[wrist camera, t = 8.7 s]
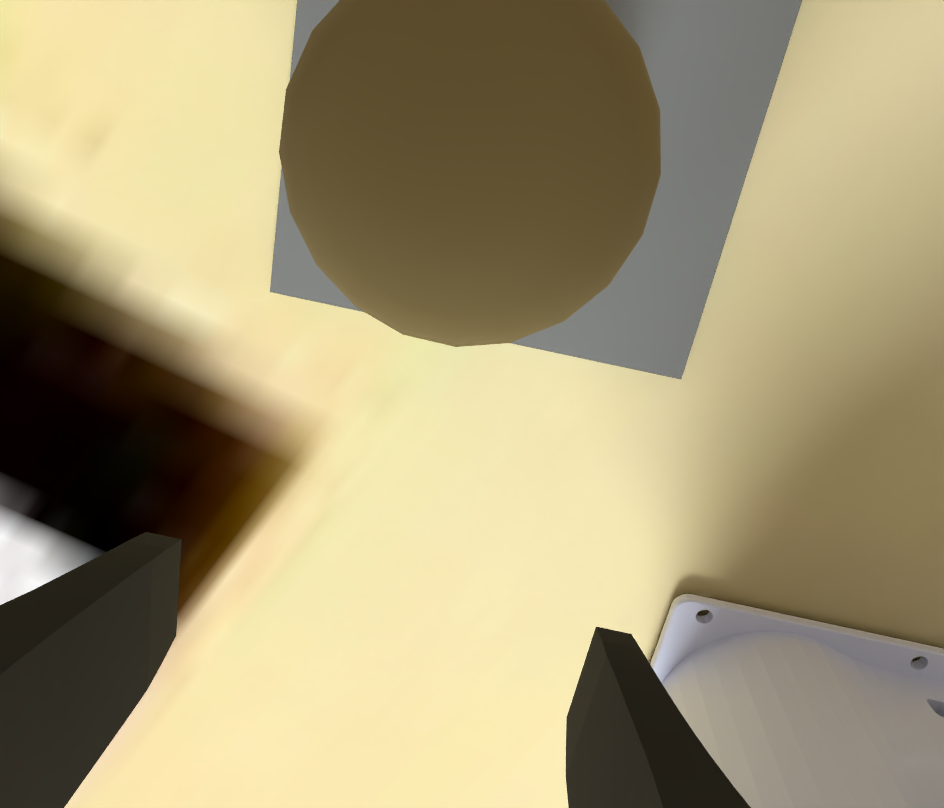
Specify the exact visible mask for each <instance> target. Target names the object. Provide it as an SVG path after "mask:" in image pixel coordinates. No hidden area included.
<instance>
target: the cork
mask: <svg viewBox="0 0 944 808" xmlns="http://www.w3.org/2000/svg"><path fill="white" fill-rule="evenodd" d="M279 154H280V159H281V165H282V170H283V176H284V182H285V187H286V193H287V198H288V204H289V210H290V213H291V215H292V217H293V219H294V221H295V223H296V225H297V227H298V229H299V231H300V233H301V235H302V237H303V239H304V241H305V243H306V245H307V247H308V249H309V251H310V253H311V255H312V257H313V259H314V261H315V263H316V265H317V266H318V267H319V268H320V269H321V270H322V271H323V272H324V274H325V275H326V276H327V277H328V278H329V279H330V280H331V281H332V282H333V283H334V284H335V285H336V286H337V287H338V289H339V290H340V291H341V292H342V293H343V294H344V295H345V296H346V297H347V298H348V299H349V300H350V301H351V303H352V304H353V305H354V306H355V307H357V308H359V309H360V310H362V311H364V312H366V313H367V314H369V315H371V316H372V317H374V318H376V319H377V320H379V321H381V322H383V323H384V324H386V325H388V326H389V327H391V328H393V329H395V330H396V331H398V332H400V333H401V334H404V335H408V336H412V337H416V338H421V339H425V340H429V341H433V342H438V343H442V344H446V345H450V346H455V347H459V346H473V345H487V344H501V343H511V342H513V341H516V340H518V339H521V338H523V337H526V336H528V335H531V334H533V333H536V332H539V331H541V330H544V329H546V328H549V327H551V326H554V325H556V324H559V323H561V322H563V321H565V320H567V319H568V318H569V317H570V316H571V315H573V314H574V313H575V312H576V311H578V310H579V309H580V308H581V307H583V306H584V305H585V304H586V303H587V302H589V301H590V300H591V299H592V298H594V297H595V296H596V295H597V294H599V293H600V292H601V291H602V290H604V289H605V288H606V287H607V286H608V285H610V283H611V282H612V280H613V279H614V277H615V276H616V274H617V273H618V271H619V270H620V268H621V267H622V265H623V264H624V262H625V261H626V259H627V258H628V256H629V255H630V253H631V252H632V250H633V249H634V247H635V246H636V244H637V243H638V241H639V240H640V238H641V237H642V235H643V233H644V229H645V226H646V223H647V219H648V216H649V213H650V209H651V206H652V203H653V199H654V196H655V193H656V189H657V186H658V183H659V179H660V176H661V138H660V108H659V105H658V102H657V99H656V96H655V93H654V90H653V86H652V83H651V80H650V77H649V74H648V71H647V68H646V65H645V62H644V59H643V56H642V53H641V50H640V47H639V46H638V44H637V43H636V42H635V40H634V39H633V38H632V36H631V35H630V34H629V32H628V31H627V30H626V28H625V27H624V26H623V24H622V23H621V22H620V20H619V19H618V18H617V16H616V15H615V13H614V12H613V11H612V9H611V8H610V7H609V5H608V4H607V3H606V1H605V0H339V2H338V3H337V4H336V5H335V6H334V7H333V8H332V9H331V10H330V11H329V13H328V14H327V15H326V16H325V17H324V18H323V19H322V20H321V21H320V23H319V24H318V25H317V26H316V27H315V28H314V29H313V30H312V32H311V34H310V37H309V39H308V41H307V43H306V46H305V48H304V50H303V52H302V55H301V57H300V59H299V62H298V64H297V66H296V68H295V71H294V73H293V75H292V77H291V80H290V82H289V84H288V86H287V89H286V96H285V105H284V113H283V122H282V131H281V140H280V149H279Z"/></svg>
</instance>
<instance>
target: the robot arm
mask: <svg viewBox="0 0 944 808" xmlns="http://www.w3.org/2000/svg"><path fill="white" fill-rule="evenodd" d="M180 555H181V539H176V538H172V537H167V536H162V535H157V534H153V533H148V532H146V533H144V534H141V535H139V536H137V537H135V538H133V539H131V540H129V541H127V542H125V543H123V544H121V545H119V546H118V547H116V548H114V549H112V550H110V551H108V552H106V553H104V554H102V555H100V556H99V557H97V558H95V559H93V560H91V561H89V562H87V563H85V564H83V565H81V566H80V567H78V568H76V569H74V570H72V571H70V572H68V573H66V574H64V575H62V576H60V577H58V578H56V579H54V580H52V581H50V582H48V583H46V584H44V585H42V586H40V587H38V588H36V589H34V590H32V591H30V592H28V593H26V594H24V595H21V596H19V597H17V598H15V599H13V600H11V601H8V602H6V603H4V604H2V605H0V808H64V807H65V806H66V804H67V803H68V801H69V800H70V799H71V797H72V796H73V794H74V793H75V791H76V790H77V789H78V787H79V786H80V784H81V783H82V782H83V780H84V779H85V777H86V776H87V775H88V773H89V772H90V770H91V769H92V768H93V766H94V765H95V763H96V762H97V760H98V759H99V758H100V756H101V755H102V753H103V752H104V751H105V749H106V748H107V746H108V745H109V744H110V742H111V741H112V739H113V738H114V737H115V735H116V734H117V732H118V731H119V729H120V728H121V727H122V725H123V724H124V722H125V721H126V719H127V718H128V717H129V715H130V714H131V712H132V711H133V709H134V708H135V707H136V705H137V704H138V702H139V701H140V699H141V698H142V696H143V695H144V693H145V692H146V691H147V689H148V687H149V685H150V684H151V682H152V680H153V678H154V676H155V675H156V673H157V671H158V669H159V667H160V666H161V664H162V662H163V660H164V658H165V656H166V654H167V652H168V650H169V648H170V646H171V644H172V642H173V641H174V639H175V637H176V628H177V610H178V592H179V573H180ZM701 610H708V611H709V613H708V614H706V615H704V616H699V615H696V614H697V613H698V612H699V611H701ZM918 656H921V658H920V659H919V660H916V661H912V660H913V659H914V658H916V657H918ZM566 783H567V794H568V804H569V808H944V648H939V647H934V646H930V645H925V644H920V643H916V642H911V641H907V640H902V639H897V638H893V637H888V636H883V635H879V634H874V633H869V632H865V631H860V630H856V629H851V628H846V627H842V626H837V625H832V624H828V623H823V622H818V621H814V620H809V619H804V618H800V617H795V616H791V615H786V614H781V613H777V612H772V611H767V610H763V609H758V608H753V607H749V606H744V605H740V604H735V603H730V602H726V601H721V600H716V599H712V598H707V597H702V596H698V595H693V594H683V595H680V596H678V597H677V598H675V599H674V601H673V602H672V604H671V607H670V610H669V613H668V615H667V618H666V621H665V624H664V627H663V629H662V632H661V635H660V638H659V641H658V643H657V646H656V649H655V652H654V655H653V657H652V660H651V663H649V662H648V660H647V658H646V657H645V655H644V654H643V652H642V650H641V649H640V647H639V646H638V644H637V642H636V641H635V639H634V638H633V636H632V635H631V634H628V633H623V632H619V631H614V630H609V629H604V628H600V627H596V629H595V632H594V635H593V638H592V641H591V644H590V647H589V650H588V653H587V657H586V660H585V663H584V666H583V669H582V672H581V675H580V678H579V681H578V684H577V687H576V691H575V694H574V697H573V700H572V703H571V706H570V709H569V712H568V715H567V730H566Z"/></svg>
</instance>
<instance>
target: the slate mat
mask: <svg viewBox="0 0 944 808" xmlns="http://www.w3.org/2000/svg"><path fill="white" fill-rule="evenodd" d="M605 1H606V3H607V4H608V5H609V7H610V8H611V9H612V11H613V12H614V13H615V15H616V16H617V18H618V19H619V20H620V22H621V23H622V24H623V26H624V27H625V28H626V30H627V31H628V32H629V34H630V35H631V36H632V38H633V39H634V40H635V42H636V43H637V44H638V46H639V47H640V50H641V53H642V56H643V59H644V62H645V65H646V68H647V71H648V74H649V77H650V80H651V83H652V86H653V90H654V93H655V96H656V99H657V102H658V105H659V108H660V138H661V176H660V179H659V183H658V186H657V189H656V193H655V196H654V199H653V203H652V206H651V209H650V213H649V216H648V219H647V223H646V226H645V229H644V233H643V235H642V237H641V238H640V240H639V241H638V243H637V244H636V246H635V247H634V249H633V250H632V252H631V253H630V255H629V256H628V258H627V259H626V261H625V262H624V264H623V265H622V267H621V268H620V270H619V271H618V273H617V274H616V276H615V277H614V279H613V280H612V282H611V283H610V285H608V286H607V287H606V288H605V289H604V290H602V291H601V292H600V293H599V294H597V295H596V296H595V297H594V298H592V299H591V300H590V301H589V302H587V303H586V304H585V305H584V306H583V307H581V308H580V309H579V310H578V311H576V312H575V313H574V314H573V315H571V316H570V317H569V318H568V319H567V320H565V321H563V322H561V323H559V324H556V325H554V326H551V327H549V328H546V329H544V330H541V331H539V332H536V333H533V334H531V335H528V336H526V337H523V338H521V339H518V340H516V341H513V342H511V343H513V344H517V345H522V346H527V347H532V348H536V349H541V350H546V351H550V352H555V353H560V354H564V355H569V356H574V357H579V358H583V359H588V360H593V361H597V362H602V363H607V364H611V365H616V366H621V367H626V368H630V369H635V370H640V371H644V372H649V373H654V374H658V375H663V376H668V377H673V378H677V379H681V378H682V375H683V372H684V369H685V366H686V362H687V359H688V356H689V353H690V350H691V347H692V344H693V341H694V337H695V334H696V331H697V328H698V325H699V322H700V319H701V315H702V312H703V309H704V306H705V303H706V300H707V297H708V294H709V290H710V287H711V284H712V281H713V278H714V275H715V272H716V268H717V265H718V262H719V259H720V256H721V253H722V250H723V247H724V243H725V240H726V237H727V234H728V231H729V228H730V225H731V221H732V218H733V215H734V212H735V209H736V206H737V203H738V200H739V196H740V193H741V190H742V187H743V184H744V181H745V178H746V174H747V171H748V168H749V165H750V162H751V159H752V156H753V153H754V149H755V146H756V143H757V140H758V137H759V134H760V131H761V127H762V124H763V121H764V118H765V115H766V112H767V109H768V106H769V102H770V99H771V96H772V93H773V90H774V87H775V84H776V81H777V77H778V74H779V71H780V68H781V65H782V62H783V59H784V55H785V52H786V49H787V46H788V43H789V40H790V37H791V34H792V30H793V27H794V24H795V21H796V18H797V15H798V12H799V8H800V5H801V2H802V0H605ZM338 2H339V0H297V11H296V21H295V32H294V42H293V53H292V64H291V74H290V80H291V77H292V75H293V73H294V71H295V68H296V66H297V64H298V62H299V59H300V57H301V55H302V52H303V50H304V48H305V46H306V43H307V41H308V39H309V37H310V34H311V32H312V30H313V29H314V28H315V27H316V26H317V25H318V24H319V23H320V21H321V20H322V19H323V18H324V17H325V16H326V15H327V14H328V13H329V11H330V10H331V9H332V8H333V7H334V6H335V5H336V4H337V3H338ZM270 292H273V293H278V294H282V295H287V296H292V297H296V298H301V299H306V300H311V301H315V302H320V303H325V304H329V305H334V306H339V307H343V308H348V309H353V310H358V311H362V310H360V309H359V308H357V307H355V306H354V305H353V304H352V303H351V301H350V300H349V299H348V298H347V297H346V296H345V295H344V294H343V293H342V292H341V291H340V290H339V289H338V287H337V286H336V285H335V284H334V283H333V282H332V281H331V280H330V279H329V278H328V277H327V276H326V275H325V274H324V272H323V271H322V270H321V269H320V268H319V267H318V266H317V265H316V263H315V261H314V259H313V257H312V255H311V253H310V251H309V249H308V247H307V245H306V243H305V241H304V239H303V237H302V235H301V233H300V231H299V229H298V227H297V225H296V223H295V221H294V219H293V217H292V215H291V213H290V210H289V204H288V198H287V193H286V187H285V182H284V176H283V170H281V180H280V191H279V202H278V212H277V223H276V234H275V244H274V255H273V265H272V276H271V287H270ZM362 312H364V311H362Z"/></svg>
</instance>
